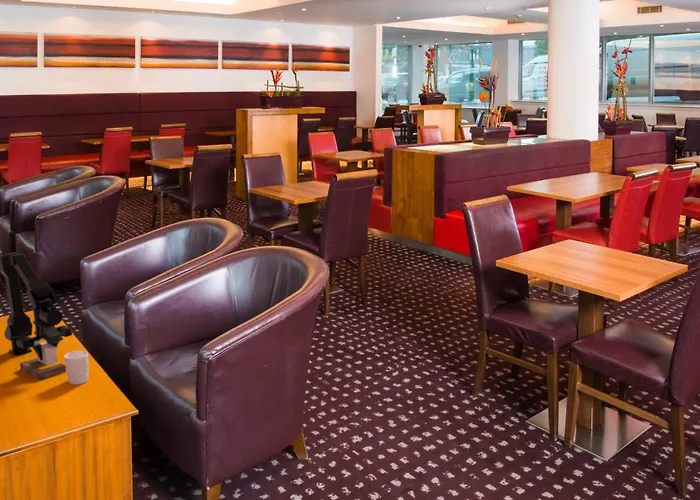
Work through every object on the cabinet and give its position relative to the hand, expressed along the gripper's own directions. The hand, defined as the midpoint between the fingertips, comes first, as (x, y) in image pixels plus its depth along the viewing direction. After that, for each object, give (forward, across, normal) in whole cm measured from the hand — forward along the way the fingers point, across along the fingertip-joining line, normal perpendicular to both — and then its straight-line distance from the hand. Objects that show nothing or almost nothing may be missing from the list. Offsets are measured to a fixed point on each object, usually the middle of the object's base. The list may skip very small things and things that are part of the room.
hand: (47, 358), depth 268 cm
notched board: (+4, -2, 0) cm, 5 cm away
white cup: (+4, +2, -18) cm, 19 cm away
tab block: (+1, 0, 0) cm, 1 cm away
